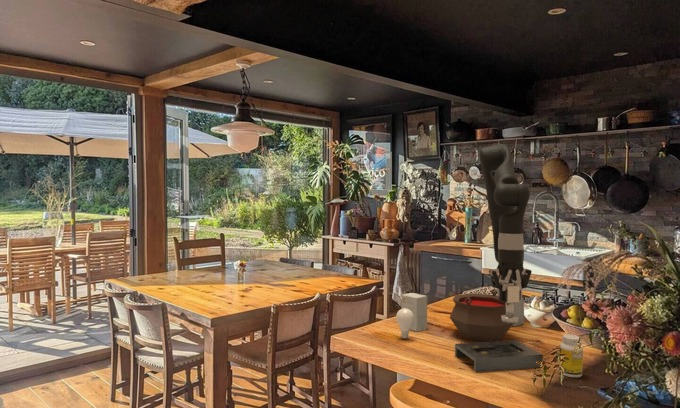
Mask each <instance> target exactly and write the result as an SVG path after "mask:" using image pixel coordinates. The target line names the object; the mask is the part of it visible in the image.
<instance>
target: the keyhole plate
mask: <svg viewBox="0 0 680 408" xmlns="http://www.w3.org/2000/svg"><path fill="white" fill-rule="evenodd" d="M543 356H544V355H543V353H541V352H539V351H538V350H536V349H533V348H532V347H530V346H528V345H526V344H524V343H522V342H521V341H519V340H517V339H514V340H500V341H494V342H479V341H476V342H462V343H454V357H456V358H461V357H463V358H465V357H468V358H470V359H471V360H472V361H473V362H474V363H473V364H474V365H473V372H475V373H485V372H499V371H512V370H515V371H516V370H524V369H525V370H527V369H536V368H535V367H540V366H541V365H540V364H538V363H536V361H539V362H544V360H543V359H544V357H543Z"/></svg>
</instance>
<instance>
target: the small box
mask: <svg viewBox="0 0 680 408" xmlns="http://www.w3.org/2000/svg"><path fill="white" fill-rule="evenodd" d="M403 308H407V309H409V310H411V311H412V313H413V315H414V321H413V323H412V324H411V326H410V329H409V331H413V332H421V331H424V330H427V329H428V295H424V294H420V293H414V292H409V293H403V294H401V309H403Z"/></svg>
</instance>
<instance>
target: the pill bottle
mask: <svg viewBox="0 0 680 408" xmlns="http://www.w3.org/2000/svg"><path fill="white" fill-rule="evenodd" d="M579 337H580V336H579V335H575V334H568V333H567V334H566V333H564V334H562V338H561V339H562V342H560V343H559V350H558V352H559V354H568V355H567V356H566V357H564V358H563V359H564V360H565V361H567V362H568V363H565V362H562V363H561V365H563V367H564V368H563V369H564V375H563V376H564V377H568V378H581V377H582V376H583V367H584V366H583V365H584V364H583V363H584V362H583V361H584V348H583V347H584V346H582V347H581V348H580V349H579V350H578V353H577V356H576V358H575V351H573V352H571V351H572V350H573V349H574V348H575V347H578V344H577V343H576V342H578V340H579ZM574 341H575V342H574ZM570 352H571V353H570ZM569 353H570V354H569ZM559 354H558V355H559ZM560 370H561V367H559V366H558V371H559V372H558V373H560Z"/></svg>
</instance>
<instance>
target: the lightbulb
mask: <svg viewBox="0 0 680 408" xmlns="http://www.w3.org/2000/svg"><path fill="white" fill-rule="evenodd" d="M395 319H396V322H397V323H398V325H399V327H400V328H399V329H400V337H401V338H402V339H404V340H406V339H409V336H410V335H409V333H410V332H409V331H410V330H409V329H410V326H411V324H412V323H413V321H414V315H413V313H412V311H411V310H409V309H407V308H403V309H402V308H401V309H399V310H398V311H397V313H396V317H395Z"/></svg>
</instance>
